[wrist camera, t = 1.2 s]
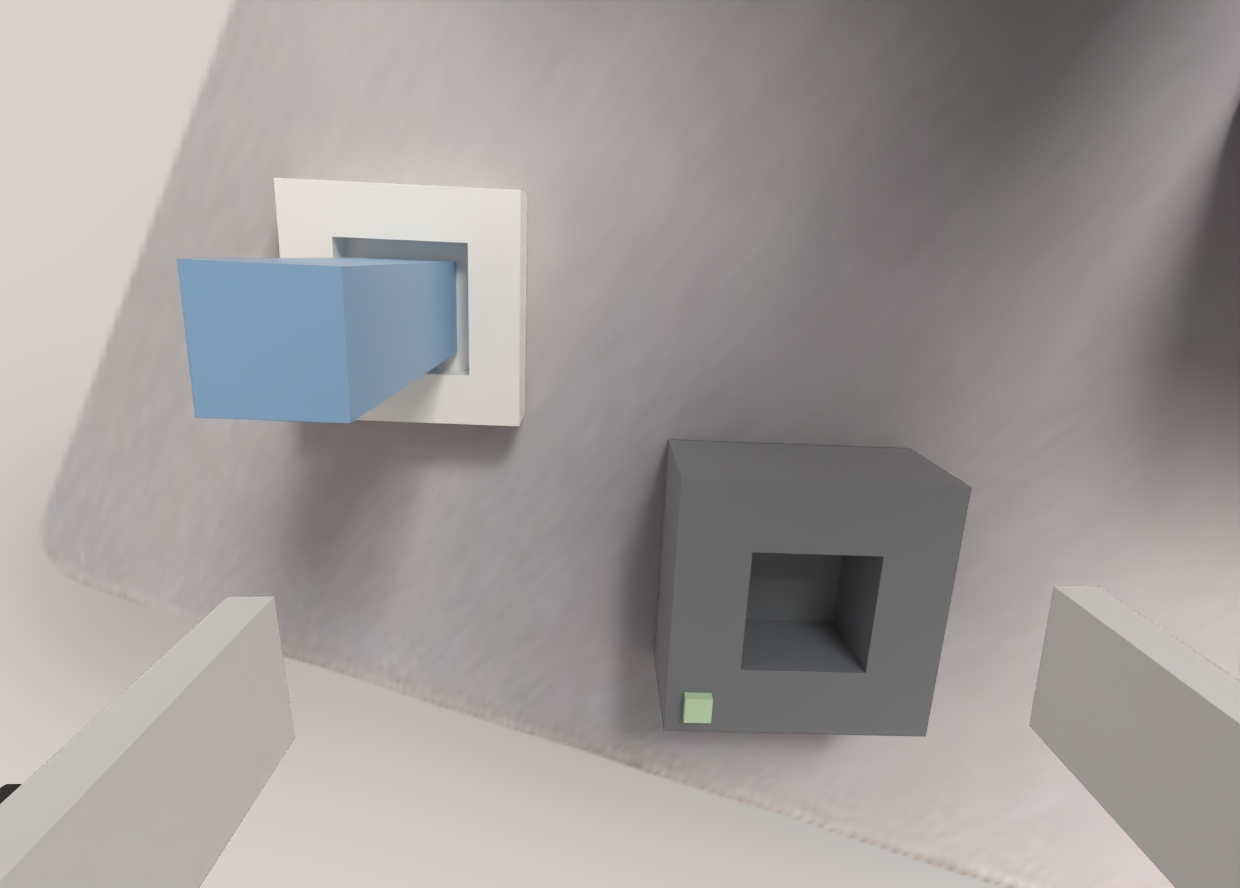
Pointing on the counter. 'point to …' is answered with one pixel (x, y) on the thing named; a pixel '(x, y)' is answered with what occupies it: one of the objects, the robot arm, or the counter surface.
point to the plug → (312, 333)
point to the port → (804, 587)
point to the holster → (439, 231)
